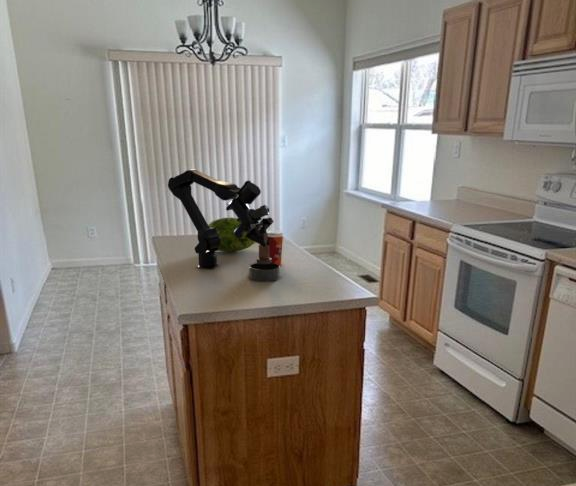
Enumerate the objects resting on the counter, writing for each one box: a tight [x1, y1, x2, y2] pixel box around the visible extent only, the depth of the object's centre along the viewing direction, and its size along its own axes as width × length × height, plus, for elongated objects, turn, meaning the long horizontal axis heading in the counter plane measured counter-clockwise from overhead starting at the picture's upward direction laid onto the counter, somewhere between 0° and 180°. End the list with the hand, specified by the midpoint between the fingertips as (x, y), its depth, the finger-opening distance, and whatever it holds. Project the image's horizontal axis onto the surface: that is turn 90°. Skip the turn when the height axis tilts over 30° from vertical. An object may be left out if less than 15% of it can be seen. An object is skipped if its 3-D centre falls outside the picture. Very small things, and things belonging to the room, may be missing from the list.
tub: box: [248, 262, 281, 283], centre depth 205 cm, size 12×12×4 cm
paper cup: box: [266, 230, 285, 267], centre depth 221 cm, size 8×8×14 cm
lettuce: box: [208, 216, 258, 253], centre depth 244 cm, size 15×27×16 cm, turn 112°
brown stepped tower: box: [256, 233, 271, 264], centre depth 201 cm, size 6×6×11 cm
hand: (267, 245), depth 200 cm, fingers closed on brown stepped tower, 2 cm apart
